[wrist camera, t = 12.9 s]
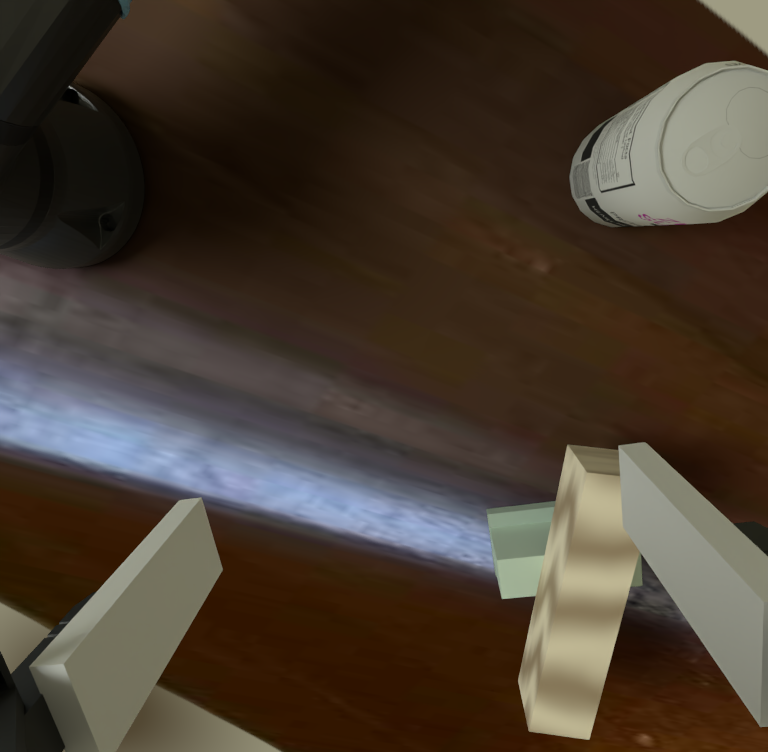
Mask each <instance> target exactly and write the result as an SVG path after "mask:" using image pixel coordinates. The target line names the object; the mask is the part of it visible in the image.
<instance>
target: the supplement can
mask: <svg viewBox="0 0 768 752" xmlns="http://www.w3.org/2000/svg"><path fill="white" fill-rule="evenodd" d="M570 184H571V191H572V196H573V198H574V200H575V202H576V203H577V205H578V207H579V209H580V211H581V212H582V213H584V214H585V215H586V216H587V217H589V218H590V219H591V220H592V221H594V222H596V223H599V224H602V225H606V226H609V227H628V226H654V225H681V224H700V223H715V222H720V221H722V220H725V219H727V218H729V217H732V216H734V215H737V214H739V213H742V212H744V211H745V210H746V209H748V208H749V207H750V206H751V205H752V204H754V203H755V202H756V201H757V200H759V199H760V198H761V197H762V196H763V195H765V194H766V193H767V192H768V71H767V70H764V69H761V68H758V67H754V66H751V65H747V64H744V63H741V62H737V61H725V62H715V63H705V64H703V65H701V66H699V67H697V68H695V69H692V70H690V71H688V72H686V73H684V74H682V75H680V76H678V77H676V78H674V79H673V80H671V81H670V82H668V83H666V84H665V85H663V86H661V87H660V88H658V89H657V90H655V91H653V92H652V93H650V94H649V95H647V96H645V97H644V98H642V99H640V100H639V101H637V102H636V103H634V104H632V105H631V106H629V107H628V108H626V109H624V110H623V111H621V112H619V113H618V114H616V115H615V116H613V117H611V118H610V119H608V120H607V121H605V122H603V123H602V124H600V125H598V126H597V127H596V128H595V129H594V130H593V131H592V132H591V133H590V134H589V135H588V136H587V137H586V138H585V139H583V141H582V143H581V145H580V146H579V148H578V150H577V152H576V154H575V155H574V157H573V162H572V167H571V172H570Z"/></svg>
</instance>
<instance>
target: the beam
mask: <svg viewBox="0 0 768 752" xmlns="http://www.w3.org/2000/svg"><path fill="white" fill-rule="evenodd" d="M639 553H640V551H639V550H638V548H637V547H636V545H635V544H634V542H633V541H632V539H631V538H630V536H629V535H628V534H627V532H626V531H625V529H624V528H623V520H622V502H621V484H620V465H619V450H612V449H603V448H594V447H586V446H577V445H567V450H566V455H565V459H564V464H563V469H562V474H561V479H560V483H559V488H558V493H557V498H556V502H555V507H554V512H553V517H552V521H551V526H550V531H549V536H548V541H547V545H546V550H545V555H544V560H543V564H542V569H541V574H540V579H539V584H538V588H537V593H536V598H535V603H534V607H533V612H532V617H531V622H530V627H529V631H528V636H527V641H526V646H525V650H524V655H523V660H522V665H521V670H520V674H519V679H518V683H519V687H520V692H521V697H522V701H523V706H524V711H525V715H526V720H527V725H528V729H529V731H530V732H537V733H545V734H552V735H559V736H566V737H573V738H580V739H587V740H589V739H590V735H591V731H592V727H593V724H594V720H595V716H596V713H597V709H598V705H599V701H600V698H601V694H602V690H603V687H604V683H605V679H606V675H607V672H608V668H609V664H610V660H611V657H612V653H613V649H614V646H615V642H616V638H617V634H618V631H619V627H620V623H621V620H622V616H623V612H624V608H625V605H626V601H627V597H628V594H629V590H630V586H631V582H632V579H633V575H634V571H635V568H636V564H637V560H638V556H639Z"/></svg>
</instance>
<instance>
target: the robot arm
mask: <svg viewBox="0 0 768 752" xmlns="http://www.w3.org/2000/svg"><path fill="white" fill-rule="evenodd" d="M131 1H132V0H0V254H3V255H6V256H8V257H11V258H14V259H17V260H20V261H23V262H25V263H28V264H31V265H35V266H39V267H45V268H53V269H66V268H77V267H86V266H90V265H94V264H97V263H100V262H102V261H104V260H106V259H108V258H110V257H111V256H113V255H114V254H115V253H117V252H118V251H119V250H120V249H121V248H122V247H123V246H124V245H125V244H126V243H127V242H128V240H129V239H130V238H131V236H132V234H133V233H134V231H135V229H136V227H137V225H138V222H139V220H140V217H141V213H142V209H143V204H144V193H145V185H144V173H143V168H142V163H141V159H140V156H139V153H138V150H137V148H136V145H135V143H134V141H133V139H132V137H131V135H130V133H129V131H128V130H127V128H126V126H125V125H124V123H123V122H122V121H121V119H120V118H119V117H118V115H117V114H116V113H115V112H114V111H113V110H112V109H111V108H110V107H109V106H108V105H107V104H106V103H105V102H104V101H103V100H101V99H100V98H99V97H98V96H96V95H95V94H93V93H92V92H90V91H89V90H87V89H85V88H83V87H81V86H79V85H77V84H74V83H72V82H73V80H74V79H75V77H76V76H77V75H78V73H79V72H80V71H81V69H82V68H83V67H84V65H85V64H86V63H87V61H88V60H89V58H90V57H91V56H92V54H93V53H94V52H95V50H96V49H97V48H98V46H99V45H100V43H101V42H102V41H103V39H104V38H105V37H106V35H107V34H108V33H109V31H110V30H111V28H112V27H113V26H114V24H115V23H116V22H117V20H118V19H119V18H120V17H121V18H122V19H125V18H126V17H127V15H128V14H129V12H130V5H129V4H130V2H131ZM618 447H619V465H620V484H621V502H622V520H623V528H624V529H625V531H626V532H627V534H628V535H629V536H630V538H631V539H632V541H633V542H634V544H635V545H636V547H637V548H638V550H639V551H640V553H641V554H642V555H643V557H644V558H645V560H646V561H647V563H648V564H649V566H650V567H651V569H652V570H653V571H654V573H655V574H656V576H657V577H658V579H659V580H660V582H661V583H662V585H663V586H664V587H665V589H666V590H667V592H668V593H669V595H670V596H671V598H672V599H673V601H674V602H675V603H676V605H677V606H678V608H679V609H680V611H681V612H682V614H683V615H684V617H685V618H686V619H687V621H688V622H689V624H690V625H691V627H692V628H693V630H694V631H695V633H696V634H697V635H698V637H699V638H700V640H701V641H702V643H703V644H704V646H705V647H706V649H707V650H708V651H709V653H710V654H711V656H712V657H713V659H714V660H715V662H716V663H717V665H718V666H719V667H720V669H721V670H722V672H723V673H724V675H725V676H726V678H727V679H728V681H729V682H730V683H731V685H732V686H733V688H734V689H735V691H736V692H737V694H738V695H739V697H740V698H741V700H742V701H743V702H744V704H745V705H746V707H747V708H748V710H749V711H750V713H751V714H752V716H753V717H754V718H755V720H756V721H757V723H758V724H759V726H760V727H767V726H768V528H766V527H764V526H762V525H760V524H758V523H756V522H744V523H735V524H732V523H731V522H730V521H729V520H728V519H727V518H726V517H725V516H724V515H723V514H722V513H721V512H720V511H718V510H717V509H716V508H715V507H714V506H713V505H712V504H711V503H710V502H709V501H708V500H707V499H706V498H705V497H703V496H702V495H701V494H700V493H699V492H698V491H697V490H696V489H695V488H694V487H693V486H692V485H691V484H690V483H688V482H687V481H686V480H685V479H684V478H683V477H682V476H681V475H680V474H679V473H678V472H677V471H676V470H675V469H673V468H672V467H671V466H670V465H669V464H668V463H667V462H666V461H665V460H664V459H663V458H662V457H661V456H660V455H658V454H657V453H656V452H655V451H654V450H653V449H652V448H651V447H650V446H649V445H648V444H647V443H646V442H643V443H635V444H627V445H619V446H618ZM222 570H223V569H222V566H221V562H220V559H219V555H218V552H217V549H216V545H215V542H214V538H213V535H212V532H211V528H210V525H209V521H208V518H207V515H206V511H205V508H204V504H203V501H202V498H194V499H186V500H179V501H178V502H177V504H176V505H175V506H174V507H173V508H172V509H171V510H170V511H169V512H168V514H167V515H166V516H165V517H164V518H163V519H162V520H161V521H160V522H159V524H158V525H157V526H156V527H155V528H154V529H153V530H152V531H151V532H150V533H149V535H148V536H147V537H146V538H145V539H144V540H143V541H142V542H141V543H140V545H139V546H138V547H137V548H136V549H135V550H134V551H133V552H132V553H131V554H130V556H129V557H128V558H127V559H126V560H125V561H124V562H123V563H122V564H121V566H120V567H119V568H118V569H117V570H116V571H115V572H114V573H113V574H112V576H111V577H110V578H109V579H108V580H107V581H106V582H105V583H104V584H103V585H102V587H101V588H100V589H99V590H98V591H97V592H93V593H92V594H91V595H89V596H88V597H86V598H85V599H84V600H82V601H81V602H80V603H78V604H77V605H75V606H74V607H73V608H72V609H71V610H70V611H69V612H68V613H67V615H66V616H65V617H64V618H63V619H62V620H61V621H60V622H59V623H60V624H59V625H56V626H55V627H54V629H53V630H52V631H51V632H50V633H49V634H48V637H47V638H44V639H43V640H42V642H41V643H40V644H39V645H38V646H37V647H36V648H35V649H34V650H33V651H32V652H31V653H30V654H29V655H28V657H27V658H26V659H25V660H24V661H23V662H22V663H21V664H20V665H19V666H18V667H17V669H15V671H14V672H13V673H12V674H10V672H9V669H8V667H7V665H6V663H5V660H4V658H3V656H2V654H1V652H0V752H62V751H63V749H65V751H66V752H116V750H117V748H118V747H119V745H120V743H121V742H122V740H123V738H124V737H125V735H126V733H127V732H128V730H129V728H130V726H131V725H132V723H133V721H134V720H135V718H136V716H137V715H138V713H139V711H140V709H141V708H142V706H143V704H144V703H145V701H146V699H147V698H148V696H149V694H150V692H151V691H152V689H153V687H154V686H155V684H156V682H157V681H158V679H159V677H160V675H161V674H162V672H163V670H164V669H165V667H166V665H167V664H168V662H169V660H170V658H171V657H172V655H173V653H174V652H175V650H176V648H177V647H178V645H179V643H180V641H181V640H182V638H183V636H184V635H185V633H186V631H187V630H188V628H189V626H190V625H191V623H192V621H193V619H194V618H195V616H196V614H197V613H198V611H199V609H200V608H201V606H202V604H203V602H204V601H205V599H206V597H207V596H208V594H209V592H210V591H211V589H212V587H213V585H214V584H215V582H216V580H217V579H218V577H219V575H220V574H221V572H222Z"/></svg>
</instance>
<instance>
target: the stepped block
mask: <svg viewBox="0 0 768 752" xmlns="http://www.w3.org/2000/svg"><path fill="white" fill-rule="evenodd" d="M555 502H556V501H552V502H544V503H535V504H526V505H517V506H508V507H500V508H491V509H486V510H487V517H488V524H489V532H490V539H491V547H492V554H493V562H494V569H495V574H496V577H497V578H498V583H499V588H500V592H501V597H502V599H507V598H517V597H528V596H536V593H537V588H538V584H539V579H540V574H541V569H542V564H543V560H544V555H545V550H546V545H547V541H548V536H549V531H550V526H551V521H552V517H553V512H554V507H555ZM635 586H642V565H641V553H639V556H638V560H637V564H636V568H635V571H634V575H633V579H632V582H631V586H630V587H635Z"/></svg>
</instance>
